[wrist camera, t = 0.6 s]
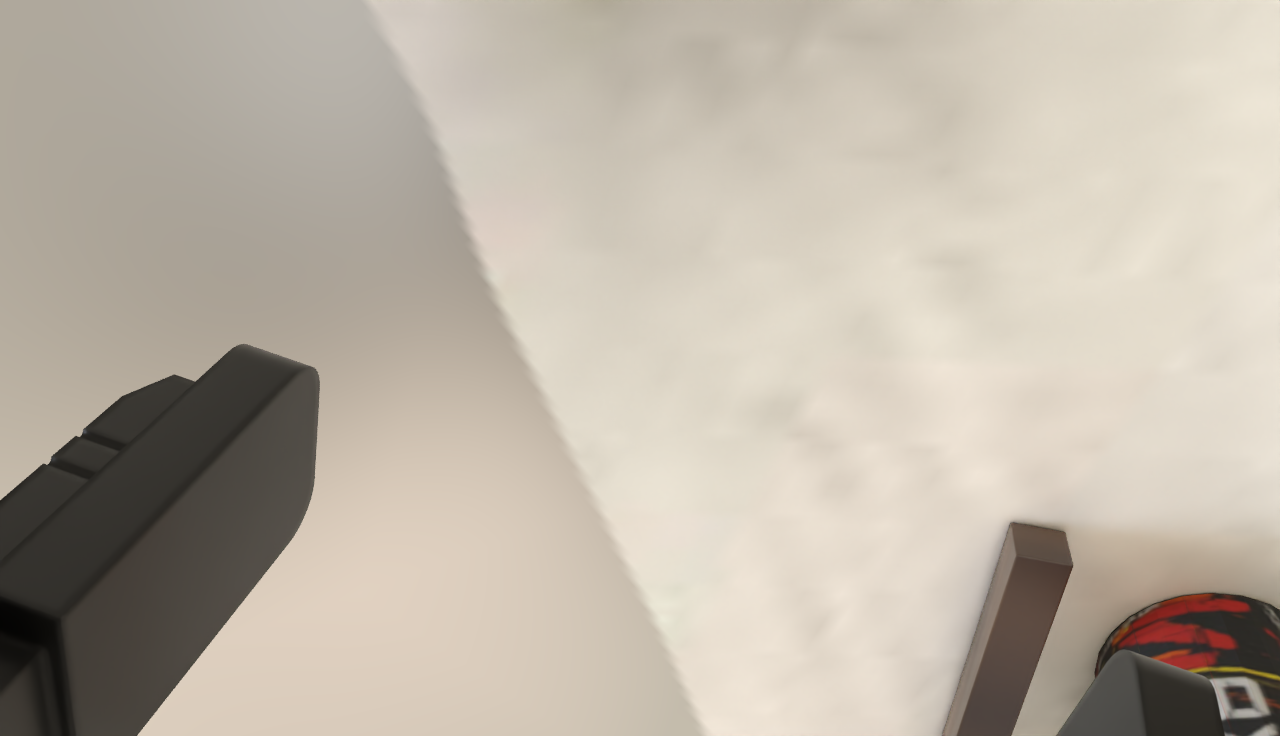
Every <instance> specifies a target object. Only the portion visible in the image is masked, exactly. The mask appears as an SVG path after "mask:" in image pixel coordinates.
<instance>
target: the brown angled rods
mask: <svg viewBox="0 0 1280 736" xmlns="http://www.w3.org/2000/svg"><path fill="white" fill-rule="evenodd" d="M1072 568H1073V562H1072V558H1071V554H1070V550H1069V546H1068V542H1067V538H1066V534H1065V532H1061V531H1055V530H1050V529H1044V528H1039V527H1033V526H1028V525H1022V524H1017V523H1011V524H1010V527H1009V530H1008V533H1007V536H1006V539H1005V542H1004V545H1003V549H1002V552H1001V555H1000V558H999V561H998V564H997V567H996V570H995V573H994V576H993V580H992V583H991V586H990V589H989V592H988V595H987V598H986V601H985V604H984V608H983V611H982V614H981V617H980V620H979V623H978V626H977V629H976V632H975V635H974V639H973V642H972V645H971V648H970V651H969V654H968V657H967V660H966V663H965V667H964V670H963V673H962V676H961V679H960V682H959V685H958V688H957V691H956V694H955V698H954V701H953V704H952V707H951V710H950V713H949V716H948V719H947V722H946V726H945V729H944V732H943V735H942V736H1011V735H1012V732H1013V730H1014V727H1015V724H1016V721H1017V719H1018V716H1019V713H1020V710H1021V708H1022V705H1023V702H1024V699H1025V697H1026V694H1027V691H1028V688H1029V686H1030V683H1031V680H1032V677H1033V675H1034V672H1035V669H1036V666H1037V664H1038V661H1039V658H1040V656H1041V653H1042V650H1043V647H1044V645H1045V642H1046V639H1047V636H1048V634H1049V631H1050V628H1051V625H1052V623H1053V620H1054V617H1055V614H1056V612H1057V609H1058V606H1059V603H1060V601H1061V598H1062V595H1063V592H1064V590H1065V587H1066V584H1067V582H1068V579H1069V576H1070V573H1071V571H1072Z"/></svg>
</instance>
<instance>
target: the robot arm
mask: <svg viewBox="0 0 1280 736" xmlns="http://www.w3.org/2000/svg"><path fill="white" fill-rule="evenodd" d="M319 387H320V381H319V375H318V372H317V371H316V369H315V368H313V367H311V366H308V365H305V364H302V363H299V362H297V361H293V360H291V359H288V358H285V357H282V356H279V355H276V354H273V353H270V352H267V351H264V350H262V349H259V348H256V347H253V346H250V345H247V344H241V345H238V346H236V347H234V348H232V349H231V350H230V351H229V352H228V353H226V354H225V355H224V356H223V357H222V358H221V359H220V360H219V361H218V362H217V363H216V364H214V365H213V366H212V367H211V368H210V369H209V370H208V371H207V372H206V373H205V374H204V375H202V376H201V377H200V378H199V379H198V380H197V381H196V382H194V381H192V380H189V379H186V378H183V377H180V376H177V375H172V376H170V377H167V378H165V379H162V380H160V381H158V382H155V383H153V384H150V385H148V386H146V387H143V388H141V389H139V390H136V391H134V392H131V393H129V394H126V395H124V396H122V397H121V398H120V399H119V400H118V401H116V402H115V403H114V404H112V405H111V406H110V407H109V408H108V409H107V410H105V411H104V412H103V413H102V414H101V415H100V416H99V417H97V418H96V419H95V420H94V421H93V422H92V423H90V424H89V425H88V426H87V427H86V428H84V429H83V433H82V435H81V437H77V436H75V437H74V438H73V439H72V440H70V441H69V442H68V443H67V444H66V445H64V446H63V447H62V448H61V449H60V450H59V451H58V452H56V453H55V454H54V455H53V456H52V457H51V461H50V463H49V464H48V465H46V464H42V465H41V466H40V467H39V468H38V469H36V470H35V471H34V472H33V473H32V474H31V475H29V477H27V478H26V479H25V480H24V481H22V482H21V483H20V484H19V485H18V486H17V487H15V488H14V489H13V490H12V491H11V492H10V493H8V494H7V495H6V496H5V497H4V498H3V499H2V500H0V736H137V735H138V733H139V732H140V731H141V730H142V729H143V727H144V726H145V725H146V723H147V722H148V721H149V719H150V718H151V717H152V716H153V715H154V713H155V712H156V711H157V710H158V708H159V707H160V706H161V704H162V703H163V702H164V701H165V699H166V698H167V697H168V696H169V694H170V693H171V692H172V691H173V689H174V688H175V687H176V685H177V684H178V683H179V681H180V680H181V679H182V678H183V677H184V675H185V674H186V673H187V672H188V670H189V669H190V667H191V666H192V665H193V664H194V663H195V661H196V660H197V659H198V658H199V656H200V655H201V654H202V652H203V651H204V650H205V649H206V647H207V646H208V645H209V644H210V642H211V641H212V640H213V639H214V637H215V636H216V635H217V634H218V632H219V631H220V630H221V628H222V627H223V626H224V625H225V623H226V622H227V621H228V620H229V618H230V617H231V616H232V615H233V613H234V612H235V611H236V609H237V608H238V607H239V605H240V604H241V603H242V602H243V601H244V599H245V598H246V597H247V596H248V594H249V593H250V592H251V590H252V589H253V588H254V587H255V585H256V584H257V583H258V581H259V580H260V579H261V578H262V576H263V575H264V574H265V572H267V570H268V569H269V568H270V566H271V565H272V564H273V563H274V561H275V560H276V559H277V558H278V556H279V555H280V554H281V552H282V551H283V550H284V549H285V547H286V546H287V545H288V544H289V542H290V541H291V540H292V538H293V537H294V535H295V533H296V532H297V530H298V528H299V526H300V524H301V522H302V520H303V518H304V516H305V514H306V511H307V508H308V506H309V502H310V500H311V496H312V492H313V487H314V479H315V460H316V443H317V426H318V408H319V391H320V388H319ZM1056 736H1225V733H1224V729H1223V724H1222V719H1221V715H1220V710H1219V705H1218V700H1217V696H1216V692H1215V689H1214V687H1213V685H1212V683H1211V682H1210V680H1209V679H1208V678H1206V677H1204V676H1202V675H1199V674H1196V673H1193V672H1190V671H1187V670H1184V669H1181V668H1179V667H1176V666H1173V665H1170V664H1167V663H1164V662H1161V661H1158V660H1155V659H1152V658H1149V657H1147V656H1144V655H1141V654H1138V653H1135V652H1132V651H1129V650H1125V649H1123V650H1119V651H1118V652H1116V653H1115V654H1114V655H1113V656H1112V657H1111V658H1110V659H1109V660H1108V661H1107V663H1106V664H1105V666H1104V667H1103V669H1102V670H1101V671H1100V673H1099V674H1098V676H1097V677H1096V679H1095V680H1094V682H1093V683H1092V685H1091V686H1090V687H1089V689H1088V690H1087V692H1086V693H1085V695H1084V696H1083V698H1082V699H1081V701H1080V702H1079V703H1078V705H1077V706H1076V708H1075V709H1074V711H1073V712H1072V714H1071V715H1070V717H1069V718H1068V719H1067V721H1066V722H1065V724H1064V725H1063V727H1062V728H1061V730H1060V731H1059V732H1058V734H1057V735H1056Z"/></svg>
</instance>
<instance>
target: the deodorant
mask: <svg viewBox="0 0 1280 736" xmlns="http://www.w3.org/2000/svg"><path fill="white" fill-rule="evenodd" d="M1123 649H1125V650H1129V651H1132V652H1135V653H1138V654H1141V655H1144V656H1147V657H1149V658H1152V659H1155V660H1158V661H1161V662H1164V663H1167V664H1170V665H1173V666H1176V667H1179V668H1181V669H1184V670H1187V671H1190V672H1193V673H1196V674H1199V675H1202V676H1204V677H1206V678H1208V679H1209V680H1210V682H1211V683H1212V685H1213V687H1214V689H1215V692H1216V696H1217V700H1218V705H1219V710H1220V715H1221V719H1222V724H1223V729H1224V733H1225V736H1280V610H1278V609H1277V608H1275V607H1273V606H1272V605H1270V604H1266V603H1263V602H1260V601H1257V600H1253V599H1250V598H1247V597H1244V596H1236V595H1226V594H1216V593H1209V594H1198V595H1187V596H1180V597H1177V598H1174V599H1170V600H1167V601H1163V602H1160V603H1156V604H1153V605H1152V606H1150V607H1148V608H1146V609H1144V610H1142V611H1140V612H1138V613H1137V614H1135V615H1133V616H1131V617H1129V618H1128V619H1127V620H1126V621H1125V622H1124V623H1123V624H1121V625H1120V626H1119V627H1118V628H1117V629H1116V630H1115V631H1114V632H1112V633H1111V635H1110V636H1109V638H1108V639H1107V641H1106V643H1105V644H1104V646H1103V647H1102V649H1101V651H1100V652H1099V656H1098V660H1097V665H1096V669H1095V678H1096V677H1097V676H1098V674H1099V673H1100V671H1101V670H1102V669H1103V667H1104V666H1105V664H1106V663H1107V661H1108V660H1109V659H1110V658H1111V657H1112V656H1113V655H1114V654H1115V653H1116V652H1118V651H1119V650H1123Z"/></svg>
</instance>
